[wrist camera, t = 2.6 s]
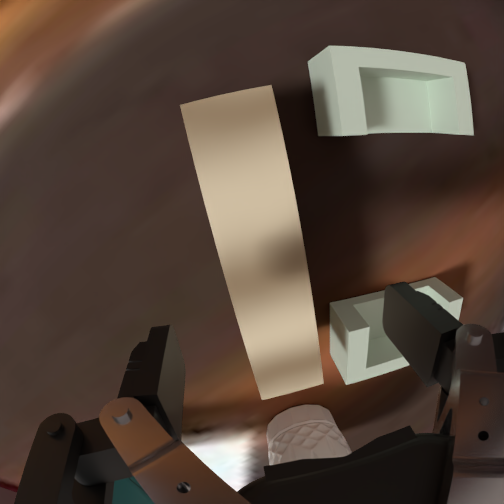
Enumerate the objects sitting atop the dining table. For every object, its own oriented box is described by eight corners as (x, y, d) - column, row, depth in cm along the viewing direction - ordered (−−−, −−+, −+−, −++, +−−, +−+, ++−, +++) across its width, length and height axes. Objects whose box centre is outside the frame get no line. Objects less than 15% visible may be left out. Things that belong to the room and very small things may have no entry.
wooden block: (190, 116, 18) (179, 105, 12) (254, 101, 18) (271, 85, 12) (251, 345, 24) (262, 400, 18) (301, 332, 24) (323, 383, 18)
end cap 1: (307, 61, 17) (329, 45, 13) (430, 69, 18) (464, 62, 14) (318, 136, 19) (342, 135, 15) (438, 132, 19) (473, 135, 16)
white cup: (337, 390, 27) (376, 474, 17) (336, 435, 29) (365, 507, 20) (254, 410, 26) (271, 503, 17) (265, 452, 29) (281, 529, 20)
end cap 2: (428, 324, 25) (451, 348, 22) (329, 353, 25) (346, 385, 21) (435, 276, 24) (463, 297, 20) (329, 302, 23) (349, 332, 19)
